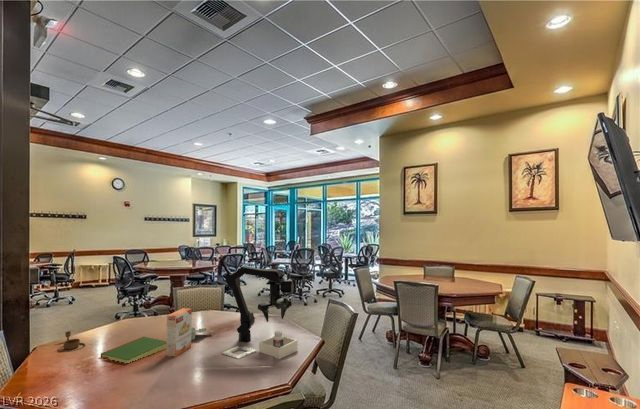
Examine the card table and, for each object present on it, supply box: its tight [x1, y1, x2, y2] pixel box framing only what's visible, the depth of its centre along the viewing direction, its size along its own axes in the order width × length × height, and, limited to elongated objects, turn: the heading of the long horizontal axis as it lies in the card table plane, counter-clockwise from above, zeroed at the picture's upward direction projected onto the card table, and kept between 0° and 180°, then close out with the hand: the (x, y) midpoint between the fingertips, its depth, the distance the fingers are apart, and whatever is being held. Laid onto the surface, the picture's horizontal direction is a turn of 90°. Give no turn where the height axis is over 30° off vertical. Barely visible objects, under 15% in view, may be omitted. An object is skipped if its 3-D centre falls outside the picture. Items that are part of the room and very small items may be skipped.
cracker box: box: [165, 307, 193, 358], centre depth 177 cm, size 14×6×21 cm, turn 169°
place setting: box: [57, 330, 92, 353], centre depth 184 cm, size 18×20×6 cm
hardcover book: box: [100, 336, 166, 364], centre depth 175 cm, size 25×19×4 cm
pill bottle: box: [272, 330, 284, 348], centre depth 177 cm, size 5×5×10 cm
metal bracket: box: [191, 327, 214, 340], centre depth 201 cm, size 14×6×15 cm
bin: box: [258, 335, 298, 360], centre depth 177 cm, size 14×14×6 cm
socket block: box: [221, 344, 257, 360], centre depth 174 cm, size 12×12×2 cm
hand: (274, 320), depth 191 cm, fingers open, 9 cm apart
